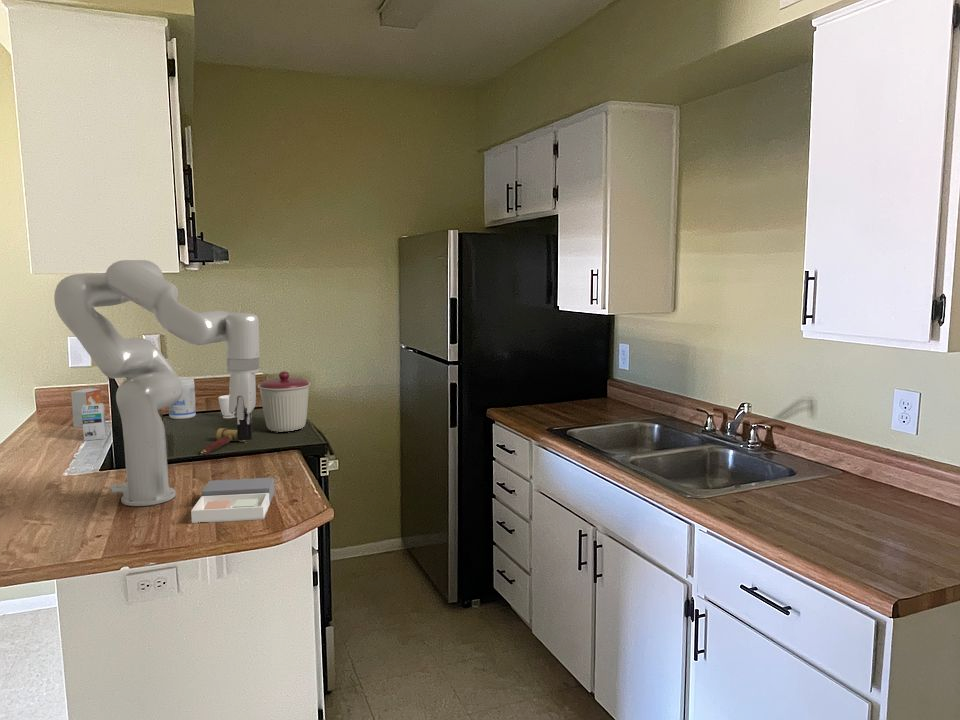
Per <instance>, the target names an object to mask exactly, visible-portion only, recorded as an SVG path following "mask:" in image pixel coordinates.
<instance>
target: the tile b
mask: <svg viewBox="0 0 960 720" xmlns="http://www.w3.org/2000/svg"><path fill="white" fill-rule="evenodd" d="M239 507H258V499H242V500H236V502H235V503H234V505H233V506H232V508H239Z"/></svg>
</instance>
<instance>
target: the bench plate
mask: <svg viewBox="0 0 960 720" xmlns="http://www.w3.org/2000/svg"><path fill="white" fill-rule="evenodd" d="M275 488H276V487H275V477H274V476H273V477H256V478H237V479H215V480H209V481H208V482H207V484H206V485H205V487H204V488H203V489H202V491H201V496H218V495H238V494H257V493H269V500H270V504H271V502H272V501H273V498H274V495H275V490H276V489H275Z"/></svg>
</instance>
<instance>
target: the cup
mask: <svg viewBox="0 0 960 720" xmlns="http://www.w3.org/2000/svg"><path fill="white" fill-rule="evenodd" d="M217 398H218V399H217V400H218V403H219V408H220V412H221V414H222V418H223V419H232V418H233V419H234V418H237V415H235V414H236V411H235V412H234V413H233V414H231V413H230V412H229V394H225V395H220V396H218V397H217Z"/></svg>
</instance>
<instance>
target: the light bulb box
mask: <svg viewBox="0 0 960 720" xmlns="http://www.w3.org/2000/svg"><path fill="white" fill-rule="evenodd" d="M81 412H82V423H83V427H82V433H83V441H84V442H85V441H95V440H105V439H106V438H107V426H106V413H105V404H104V403H103V402H102V403H100V404H85V405H83V406H82V410H81Z"/></svg>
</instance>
